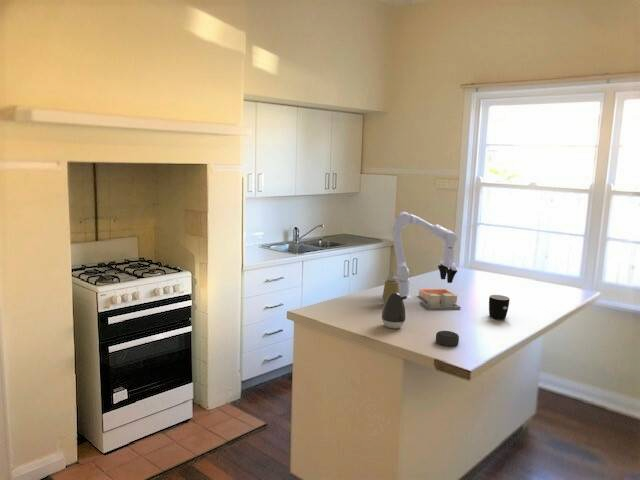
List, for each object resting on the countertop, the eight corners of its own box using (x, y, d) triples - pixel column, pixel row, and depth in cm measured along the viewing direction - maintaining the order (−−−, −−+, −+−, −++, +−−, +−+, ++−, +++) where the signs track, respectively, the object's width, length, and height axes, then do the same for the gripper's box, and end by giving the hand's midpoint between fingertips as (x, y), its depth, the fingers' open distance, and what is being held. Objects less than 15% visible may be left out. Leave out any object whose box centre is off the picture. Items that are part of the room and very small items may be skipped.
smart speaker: (432, 339, 217) (433, 329, 217) (454, 339, 218) (455, 330, 217) (438, 347, 208) (439, 337, 208) (461, 347, 209) (462, 337, 208)
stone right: (444, 307, 262) (445, 295, 261) (440, 305, 266) (441, 293, 265) (453, 307, 262) (454, 295, 262) (449, 305, 267) (450, 293, 266)
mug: (502, 322, 244) (504, 300, 243) (483, 317, 250) (486, 296, 249) (513, 317, 253) (515, 296, 252) (495, 313, 259) (497, 292, 258)
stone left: (430, 307, 260) (431, 295, 259) (426, 305, 264) (427, 293, 263) (438, 307, 261) (439, 295, 260) (435, 305, 265) (436, 293, 264)
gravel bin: (428, 303, 270) (429, 295, 269) (418, 296, 283) (419, 289, 282) (456, 303, 273) (457, 295, 273) (445, 296, 286) (445, 289, 285)
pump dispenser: (399, 332, 223) (402, 297, 221) (376, 327, 228) (379, 292, 226) (409, 326, 232) (411, 292, 229) (387, 321, 237) (389, 288, 235)
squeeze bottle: (400, 304, 265) (403, 269, 262) (395, 308, 258) (398, 272, 255) (384, 302, 268) (387, 267, 265) (379, 305, 261) (382, 269, 258)
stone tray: (429, 311, 256) (429, 307, 256) (419, 304, 267) (420, 300, 267) (460, 310, 260) (460, 306, 259) (449, 304, 271) (450, 300, 270)
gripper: (462, 258, 269) (460, 284, 271) (449, 252, 283) (447, 277, 285) (449, 257, 267) (447, 284, 269) (437, 252, 281) (434, 277, 283)
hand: (446, 281), depth 277 cm, fingers open, 7 cm apart
